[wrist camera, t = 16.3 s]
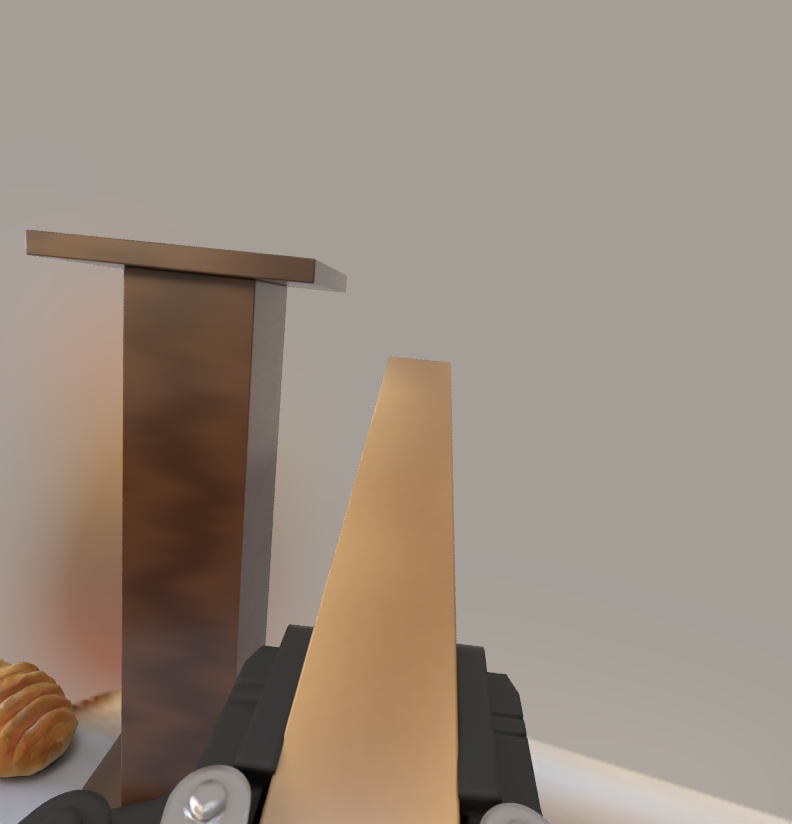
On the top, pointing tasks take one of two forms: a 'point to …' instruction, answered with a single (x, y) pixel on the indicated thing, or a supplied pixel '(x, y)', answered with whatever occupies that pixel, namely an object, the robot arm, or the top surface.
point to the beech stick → (384, 632)
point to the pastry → (31, 720)
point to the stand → (191, 486)
